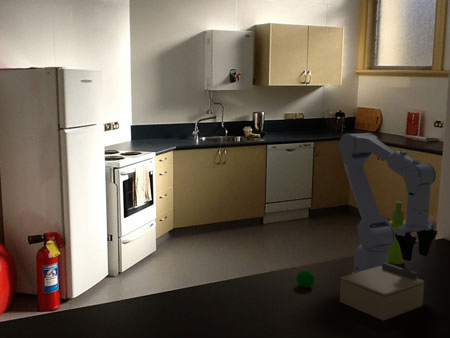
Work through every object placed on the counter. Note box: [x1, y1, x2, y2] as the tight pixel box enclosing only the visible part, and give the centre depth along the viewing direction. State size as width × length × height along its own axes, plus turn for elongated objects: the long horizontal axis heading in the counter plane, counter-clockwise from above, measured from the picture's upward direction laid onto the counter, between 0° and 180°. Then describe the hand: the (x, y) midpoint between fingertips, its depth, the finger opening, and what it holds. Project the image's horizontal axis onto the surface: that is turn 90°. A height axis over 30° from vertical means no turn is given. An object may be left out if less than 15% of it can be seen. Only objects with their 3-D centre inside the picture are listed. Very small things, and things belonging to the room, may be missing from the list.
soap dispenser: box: [388, 199, 406, 265], centre depth 174 cm, size 6×7×20 cm
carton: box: [339, 279, 425, 321], centre depth 139 cm, size 14×16×6 cm
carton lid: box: [340, 263, 425, 296], centre depth 139 cm, size 14×16×2 cm
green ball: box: [295, 269, 315, 289], centre depth 151 cm, size 5×5×5 cm
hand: (415, 257), depth 145 cm, fingers open, 7 cm apart
